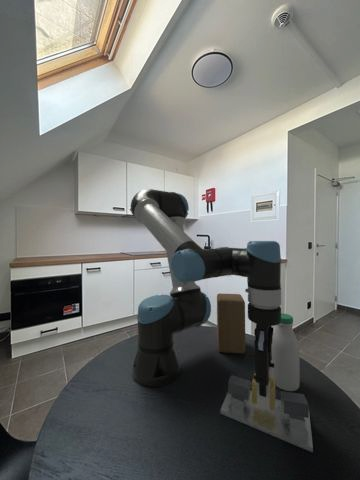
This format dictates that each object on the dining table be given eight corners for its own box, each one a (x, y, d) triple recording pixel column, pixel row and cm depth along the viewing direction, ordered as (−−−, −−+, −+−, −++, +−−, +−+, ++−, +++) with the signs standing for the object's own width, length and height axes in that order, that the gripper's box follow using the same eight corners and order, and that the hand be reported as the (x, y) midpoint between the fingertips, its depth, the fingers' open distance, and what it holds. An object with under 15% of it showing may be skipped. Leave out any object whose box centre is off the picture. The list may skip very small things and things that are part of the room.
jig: (220, 413, 50) (220, 389, 50) (231, 387, 58) (231, 366, 58) (312, 452, 40) (312, 423, 40) (309, 414, 49) (308, 389, 49)
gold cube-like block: (251, 403, 49) (251, 382, 49) (254, 391, 52) (254, 372, 52) (274, 411, 46) (274, 390, 46) (275, 399, 50) (275, 379, 50)
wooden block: (217, 339, 86) (216, 292, 85) (241, 341, 84) (241, 293, 84) (218, 353, 76) (217, 300, 75) (245, 355, 74) (245, 300, 74)
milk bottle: (304, 394, 55) (303, 321, 55) (273, 390, 57) (273, 319, 57) (294, 375, 63) (293, 311, 63) (267, 372, 65) (267, 310, 64)
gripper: (253, 293, 58) (254, 374, 59) (240, 313, 43) (241, 420, 44) (282, 297, 55) (283, 382, 55) (279, 319, 40) (280, 437, 40)
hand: (264, 399), depth 49 cm, fingers closed on gold cube-like block, 4 cm apart
